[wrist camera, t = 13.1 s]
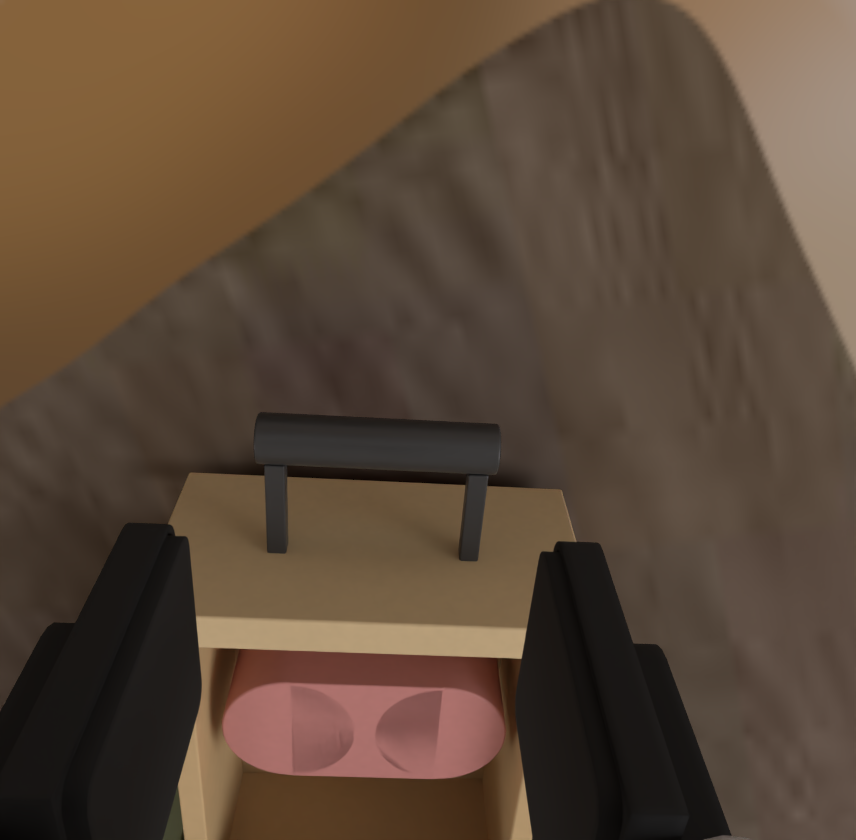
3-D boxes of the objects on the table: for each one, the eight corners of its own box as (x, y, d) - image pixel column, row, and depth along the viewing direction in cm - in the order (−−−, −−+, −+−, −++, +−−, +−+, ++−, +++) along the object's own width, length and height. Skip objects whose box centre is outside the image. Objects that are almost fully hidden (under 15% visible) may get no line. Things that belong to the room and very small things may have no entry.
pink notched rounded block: (499, 591, 31) (513, 690, 27) (487, 676, 33) (498, 781, 29) (243, 580, 30) (217, 681, 26) (248, 669, 32) (224, 774, 28)
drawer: (178, 349, 27) (106, 471, 20) (583, 370, 27) (635, 495, 21) (214, 761, 37) (173, 930, 30) (511, 769, 37) (532, 936, 31)
